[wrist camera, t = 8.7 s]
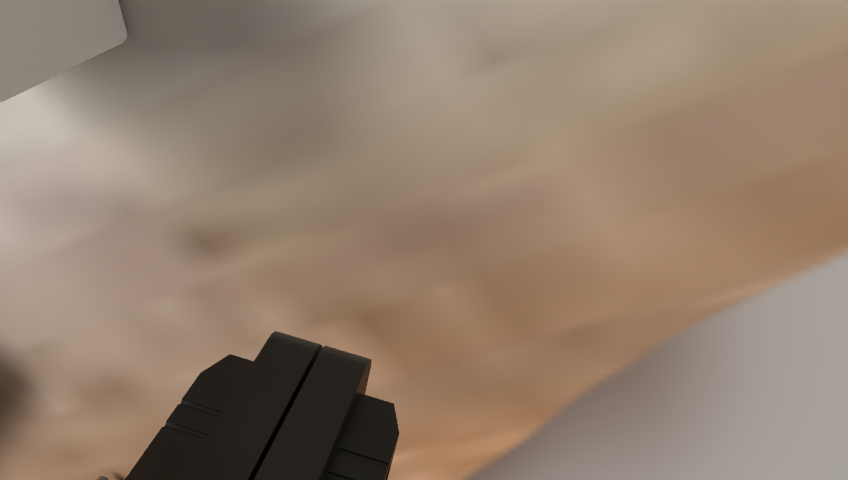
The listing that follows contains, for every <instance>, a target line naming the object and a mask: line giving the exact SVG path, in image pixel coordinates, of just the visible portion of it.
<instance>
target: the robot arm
mask: <svg viewBox="0 0 848 480" xmlns="http://www.w3.org/2000/svg"><path fill="white" fill-rule="evenodd" d="M370 368H371V359H368V358H365V357H361V356H358V355H355V354H351V353H348V352H345V351H341V350H338V349H335V348H331V347H328V346H324V347H323V348H322V345H320V344H317V343H314V342H310V341H307V340H304V339H300V338H297V337H294V336H290V335H287V334H284V333H280V332H277V331H275V332H273V333H272V334H271V336H270V337H269V339H268V340H267V342H266V343H265V345H264V347H263V348H262V350H261V351H260V353H259V354H258V356H257V358H256V359H255V361H250V360H247V359H244V358H241V357H237V356H234V355H231V354H230V355H228V356H226V357H225V358H223V359H222V360H220V361H219V362H217V363H215V364H214V365H212V366H211V367H209V368H208V369H206V370H204V371H203V372H201V373H200V374H199V376H198V377H197V379H196V380H195V382H194V383H193V384H192V386H191V387H190V389H189V390H188V391H187V393H186V394H185V396H184V397H183V398H182V401H181V404H180V405H178V406H177V407H176V408H175V410H174V411H173V413H172V414H171V415H170V417H169V418H168V420H167V421H166V425H165V427H162V428H161V429H160V431H159V432H158V434H157V435H156V437H155V438H154V439H153V441H152V442H151V444H150V445H149V446H148V448H147V449H146V451H145V452H144V453H143V455H142V456H141V458H140V459H139V461H138V462H137V463H136V465H135V466H134V468H133V469H132V470H131V472H130V473H129V475H128V476H127V477H126V479H125V480H387V479H388V475H389V471H390V467H391V463H392V459H393V455H394V452H395V448H396V444H397V440H398V436H399V430H398V424H397V419H396V413H395V408H394V404H393V403H390V402H387V401H383V400H380V399H377V398H373V397H370V396H367V395H365V391H366V386H367V382H368V377H369V372H370Z"/></svg>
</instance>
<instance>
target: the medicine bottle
mask: <svg viewBox="0 0 848 480" xmlns="http://www.w3.org/2000/svg"><path fill="white" fill-rule="evenodd" d="M126 38H127V30H126V26H125V23H124V19H123V15H122V12H121V8H120V4H119V0H0V102H2V101H5V100H7V99H9V98H11V97H13V96H15V95H17V94H19V93H21V92H24V91H26V90H28V89H30V88H32V87H34V86H36V85H38V84H40V83H42V82H44V81H46V80H48V79H50V78H52V77H54V76H56V75H58V74H60V73H62V72H64V71H67V70H69V69H71V68H73V67H75V66H77V65H79V64H81V63H83V62H85V61H87V60H89V59H91V58H93V57H95V56H97V55H99V54H101V53H103V52H105V51H107V50H110V49H112V48H114V47H116V46H118V45H120V44H122V43H124V41H125V40H126Z"/></svg>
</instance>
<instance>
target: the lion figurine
mask: <svg viewBox="0 0 848 480" xmlns="http://www.w3.org/2000/svg"><path fill="white" fill-rule="evenodd" d="M97 480H108V479H107V478H106V477H104V476H100V477H98V479H97Z"/></svg>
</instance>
